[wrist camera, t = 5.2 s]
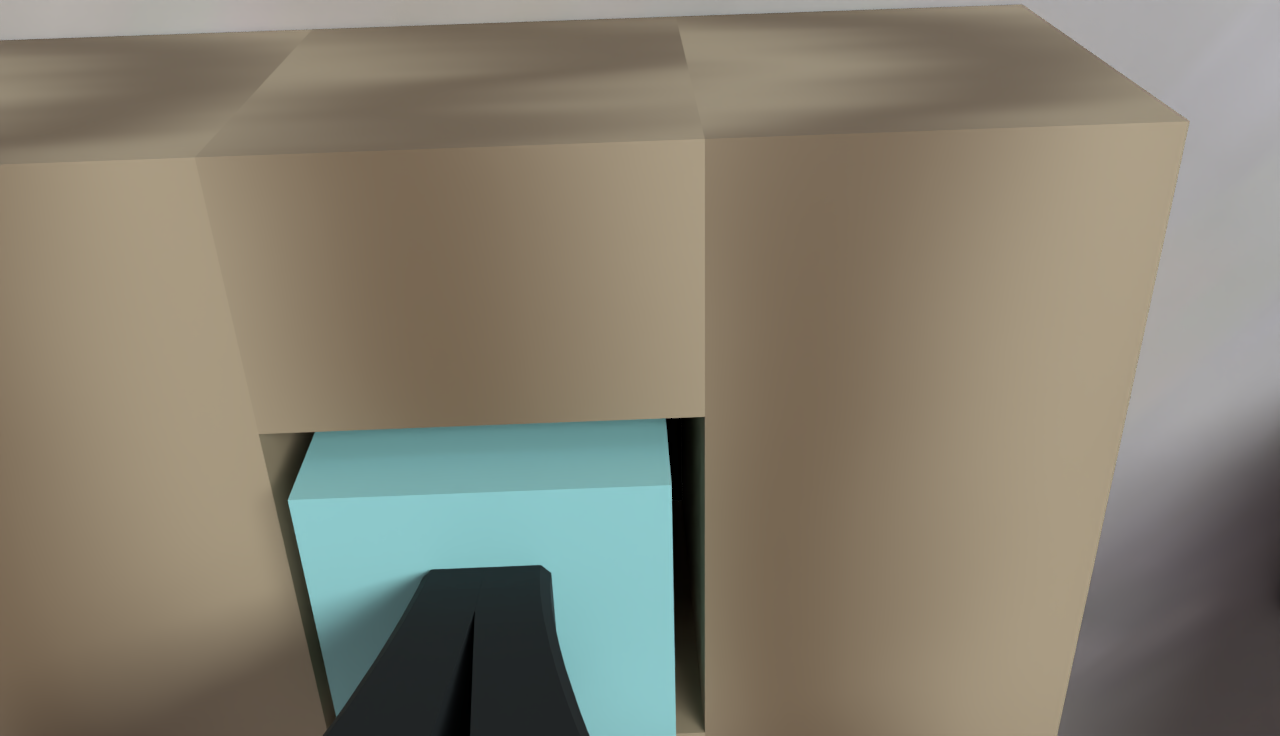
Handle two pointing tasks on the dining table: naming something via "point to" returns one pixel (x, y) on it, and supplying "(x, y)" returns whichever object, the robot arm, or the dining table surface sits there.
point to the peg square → (501, 545)
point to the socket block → (577, 340)
